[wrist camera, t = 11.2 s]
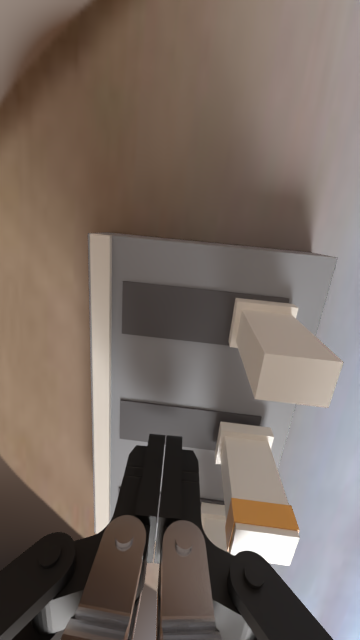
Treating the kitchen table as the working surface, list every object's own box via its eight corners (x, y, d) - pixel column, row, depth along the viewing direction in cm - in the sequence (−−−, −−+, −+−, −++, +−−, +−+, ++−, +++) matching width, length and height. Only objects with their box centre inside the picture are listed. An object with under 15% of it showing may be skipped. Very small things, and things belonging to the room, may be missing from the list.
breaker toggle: (220, 421, 13) (231, 522, 8) (270, 427, 13) (308, 532, 8) (214, 453, 13) (222, 562, 9) (262, 459, 13) (293, 572, 9)
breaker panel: (107, 232, 13) (9, 235, 6) (312, 252, 13) (441, 279, 6) (107, 495, 19) (56, 643, 12) (246, 513, 19) (274, 676, 12)
